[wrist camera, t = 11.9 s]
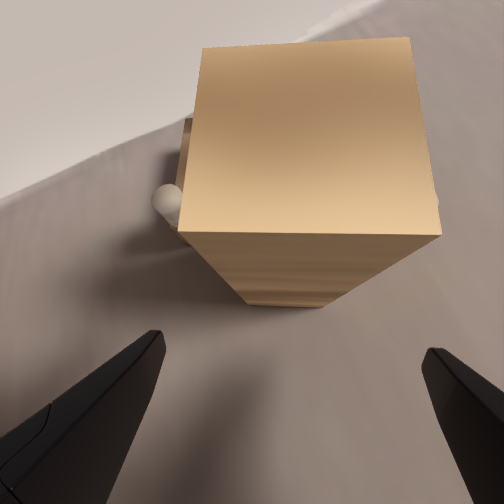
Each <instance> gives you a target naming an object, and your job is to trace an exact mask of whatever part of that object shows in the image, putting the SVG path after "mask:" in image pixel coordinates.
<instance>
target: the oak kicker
mask: <svg viewBox="0 0 504 504" xmlns="http://www.w3.org/2000/svg"><path fill="white" fill-rule="evenodd" d="M178 232H179V233H180V234H181V235H182V236H183V238H184V239H185V240H186V241H187V242H188V243H189V244H190V245H191V246H192V247H193V248H194V249H195V250H196V251H197V252H198V253H199V254H200V255H201V256H202V257H203V258H204V259H205V260H206V261H207V262H208V263H209V265H210V266H211V267H212V268H213V269H214V270H215V271H216V272H217V273H218V274H219V275H220V276H221V277H222V278H223V279H224V280H225V281H226V282H227V283H228V284H229V285H230V286H231V287H232V288H233V289H234V290H235V292H236V293H237V294H238V295H239V296H240V297H241V298H242V299H243V300H244V301H245V302H246V303H247V304H248V305H264V306H289V307H314V308H323V307H324V306H326V305H328V304H329V303H331V302H333V301H334V300H336V299H337V298H339V297H341V296H342V295H344V294H346V293H347V292H349V291H351V290H352V289H354V288H356V287H357V286H359V285H360V284H362V283H364V282H365V281H367V280H369V279H370V278H372V277H374V276H375V275H377V274H379V273H380V272H382V271H383V270H385V269H387V268H388V267H390V266H392V265H393V264H395V263H397V262H398V261H400V260H402V259H403V258H405V257H406V256H408V255H410V254H411V253H413V252H415V251H416V250H418V249H420V248H421V247H423V246H425V245H426V244H428V243H429V242H431V241H433V240H434V239H436V238H438V237H439V236H441V235H442V231H441V225H440V219H439V213H438V207H437V201H436V195H435V189H434V183H433V177H432V171H431V165H430V159H429V153H428V147H427V141H426V135H425V129H424V123H423V117H422V111H421V105H420V99H419V93H418V87H417V81H416V74H415V68H414V62H413V56H412V50H411V44H410V38H409V37H394V38H376V39H358V40H341V41H323V42H305V43H288V44H270V45H253V46H236V47H235V46H234V47H217V48H203V50H202V57H201V66H200V72H199V80H198V86H197V94H196V101H195V108H194V115H193V123H192V130H191V137H190V144H189V152H188V159H187V166H186V173H185V181H184V188H183V195H182V202H181V210H180V217H179V224H178Z"/></svg>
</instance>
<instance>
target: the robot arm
mask: <svg viewBox="0 0 504 504" xmlns="http://www.w3.org/2000/svg"><path fill="white" fill-rule="evenodd" d="M165 353H166V345H165V341H164V336H163V333H162V331H160V330H150V331H148V332H147V333H145V334H144V335H142V336H141V337H140V338H138V339H137V340H136V341H134V342H133V343H132V344H130V345H129V346H127V347H126V348H125V349H123V350H122V351H121V352H119V353H118V354H116V355H115V356H114V357H112V358H111V359H110V360H108V361H107V362H106V363H104V364H103V365H101V366H100V367H99V368H97V369H96V370H95V371H93V372H92V373H90V374H89V375H88V376H86V377H85V378H84V379H82V380H81V381H79V382H78V383H77V384H75V385H74V386H73V387H71V388H70V389H69V390H67V391H66V392H64V393H63V394H62V395H60V396H59V397H58V398H56V399H55V400H53V401H52V403H49V404H48V405H46V406H45V407H44V408H42V409H41V410H40V411H38V412H37V413H35V414H34V415H33V416H31V417H30V418H28V419H27V420H26V421H24V422H23V423H21V424H20V425H18V426H17V427H16V428H14V429H13V430H11V431H10V432H8V433H7V434H5V435H4V436H2V437H1V438H0V504H106V502H107V500H108V497H109V495H110V493H111V490H112V488H113V486H114V483H115V481H116V479H117V476H118V474H119V472H120V469H121V467H122V465H123V462H124V460H125V458H126V456H127V453H128V451H129V449H130V446H131V444H132V442H133V439H134V437H135V435H136V432H137V430H138V428H139V425H140V423H141V421H142V418H143V416H144V414H145V411H146V409H147V407H148V404H149V402H150V400H151V397H152V394H153V391H154V389H155V385H156V382H157V379H158V376H159V373H160V369H161V366H162V363H163V360H164V357H165ZM422 373H423V377H424V380H425V383H426V386H427V389H428V392H429V395H430V398H431V401H432V405H433V408H434V411H435V414H436V417H437V419H438V422H439V425H440V427H441V429H442V432H443V434H444V436H445V439H446V441H447V443H448V445H449V448H450V450H451V452H452V455H453V457H454V459H455V462H456V464H457V466H458V468H459V471H460V473H461V475H462V478H463V480H464V482H465V484H466V487H467V489H468V491H469V494H470V496H471V498H472V501H473V503H474V504H504V392H503V391H501V390H500V389H498V388H497V387H496V386H494V385H493V384H492V383H490V382H489V381H488V380H486V379H485V378H484V377H482V376H481V375H479V374H478V373H477V372H475V371H474V370H473V369H471V368H470V367H469V366H467V365H466V364H464V363H463V362H462V361H460V360H459V359H458V358H456V357H455V356H454V355H452V354H451V353H450V352H448V351H447V350H445V349H443V348H434V347H430V348H429V349H428V350H427V352H426V355H425V357H424V360H423V362H422Z"/></svg>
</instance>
